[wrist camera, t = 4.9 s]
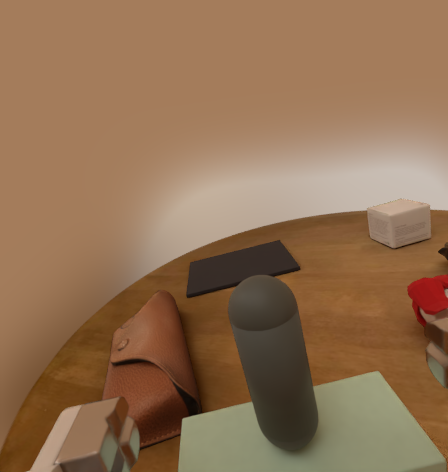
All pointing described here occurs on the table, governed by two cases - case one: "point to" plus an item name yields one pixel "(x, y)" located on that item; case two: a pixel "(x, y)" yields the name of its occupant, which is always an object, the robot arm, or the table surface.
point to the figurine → (429, 298)
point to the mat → (239, 267)
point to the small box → (399, 222)
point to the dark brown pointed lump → (444, 251)
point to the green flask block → (300, 406)
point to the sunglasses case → (153, 370)
